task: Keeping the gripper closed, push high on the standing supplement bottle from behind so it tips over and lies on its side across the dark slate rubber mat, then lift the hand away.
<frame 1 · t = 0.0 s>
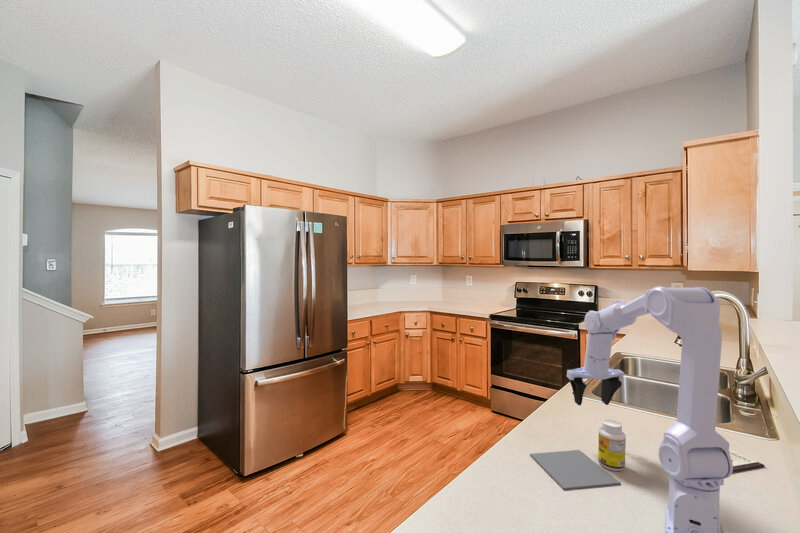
hand: (591, 403, 99), 11 cm above the counter, tool pointing down, fingers open, 7 cm apart
supplement bottle: (611, 466, 88), on the counter
mat: (572, 468, 86), on the counter
chocolate bar: (715, 464, 90), on the counter
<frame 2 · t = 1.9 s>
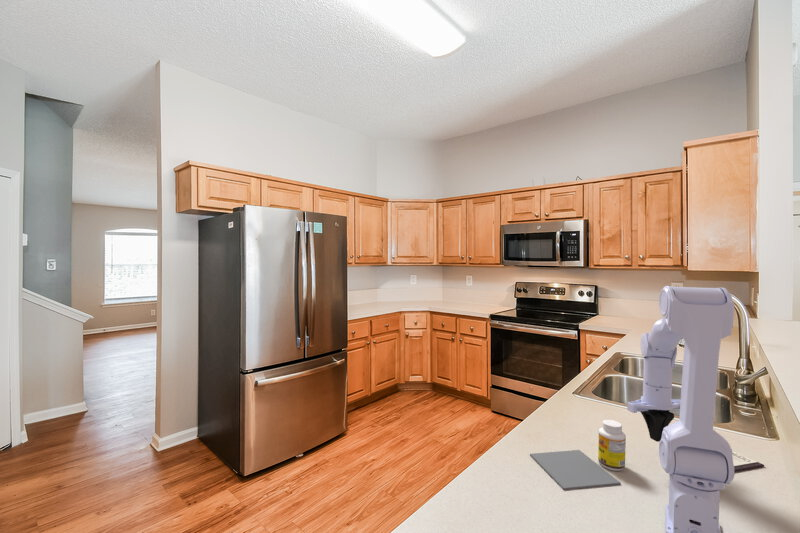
hand: (655, 439, 90), 5 cm above the counter, tool pointing down, fingers closed
nothing on the counter moved.
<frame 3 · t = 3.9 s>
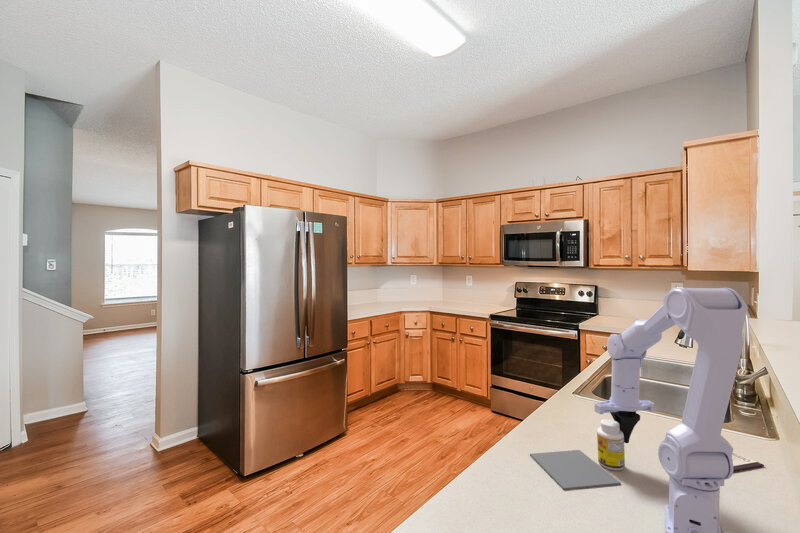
hand: (623, 441, 88), 6 cm above the counter, tool pointing down, fingers closed
supplement bottle: (611, 465, 88), on the counter, touching gripper
everything else where it was.
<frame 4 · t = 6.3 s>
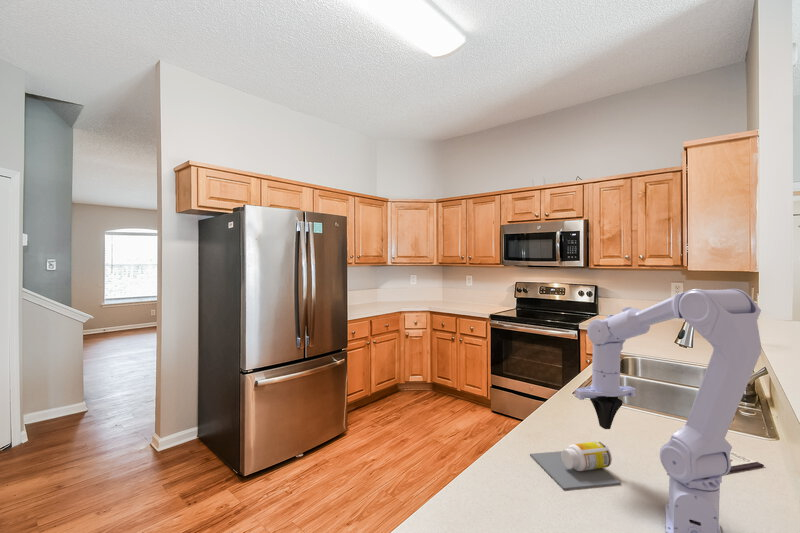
hand: (604, 427, 87), 9 cm above the counter, tool pointing down, fingers closed
supplement bottle: (604, 453, 87), point 3 cm above the counter, touching mat
everything else where it was.
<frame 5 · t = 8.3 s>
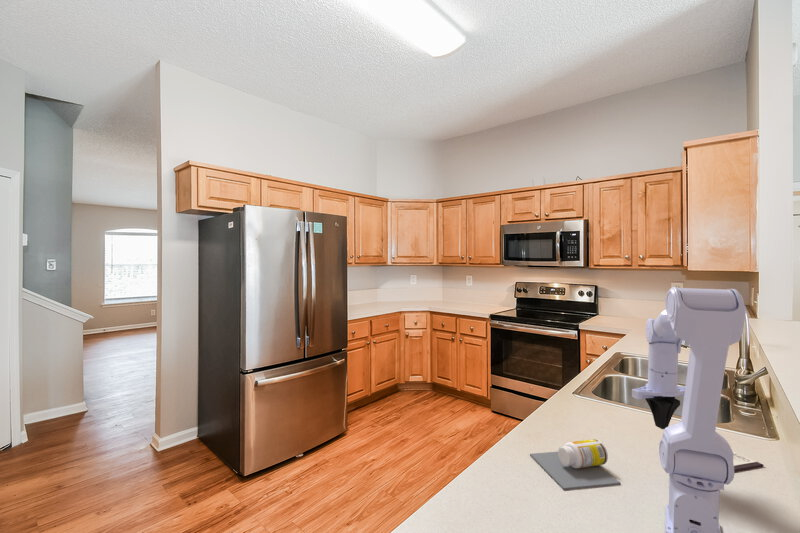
hand: (661, 427, 88), 9 cm above the counter, tool pointing down, fingers closed
supplement bottle: (601, 451, 88), point 3 cm above the counter, touching mat
everything else where it was.
at the end: supplement bottle tilted 90°; supplement bottle touching mat; supplement bottle moved 3.9 cm from its start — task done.
